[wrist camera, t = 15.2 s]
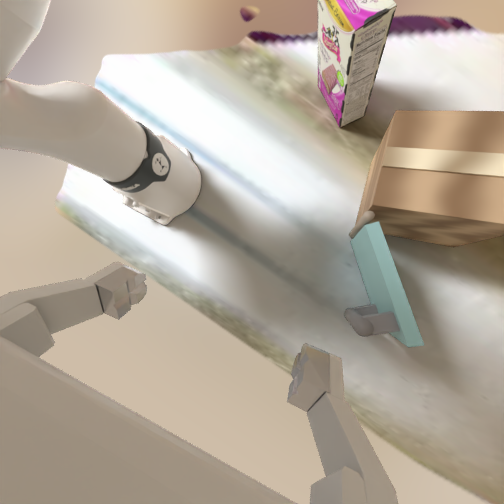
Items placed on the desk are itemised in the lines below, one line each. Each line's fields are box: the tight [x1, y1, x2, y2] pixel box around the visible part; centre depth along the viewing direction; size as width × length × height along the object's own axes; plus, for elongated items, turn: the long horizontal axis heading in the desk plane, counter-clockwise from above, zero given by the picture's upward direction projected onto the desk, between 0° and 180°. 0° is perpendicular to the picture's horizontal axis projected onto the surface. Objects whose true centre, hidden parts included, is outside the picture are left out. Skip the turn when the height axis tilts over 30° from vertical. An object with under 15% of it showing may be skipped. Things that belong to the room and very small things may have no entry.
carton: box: [355, 110, 504, 247], centre depth 28 cm, size 14×12×12 cm
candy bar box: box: [318, 0, 397, 128], centre depth 31 cm, size 11×5×16 cm, turn 19°
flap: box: [344, 211, 424, 347], centre depth 29 cm, size 16×6×11 cm, turn 13°
